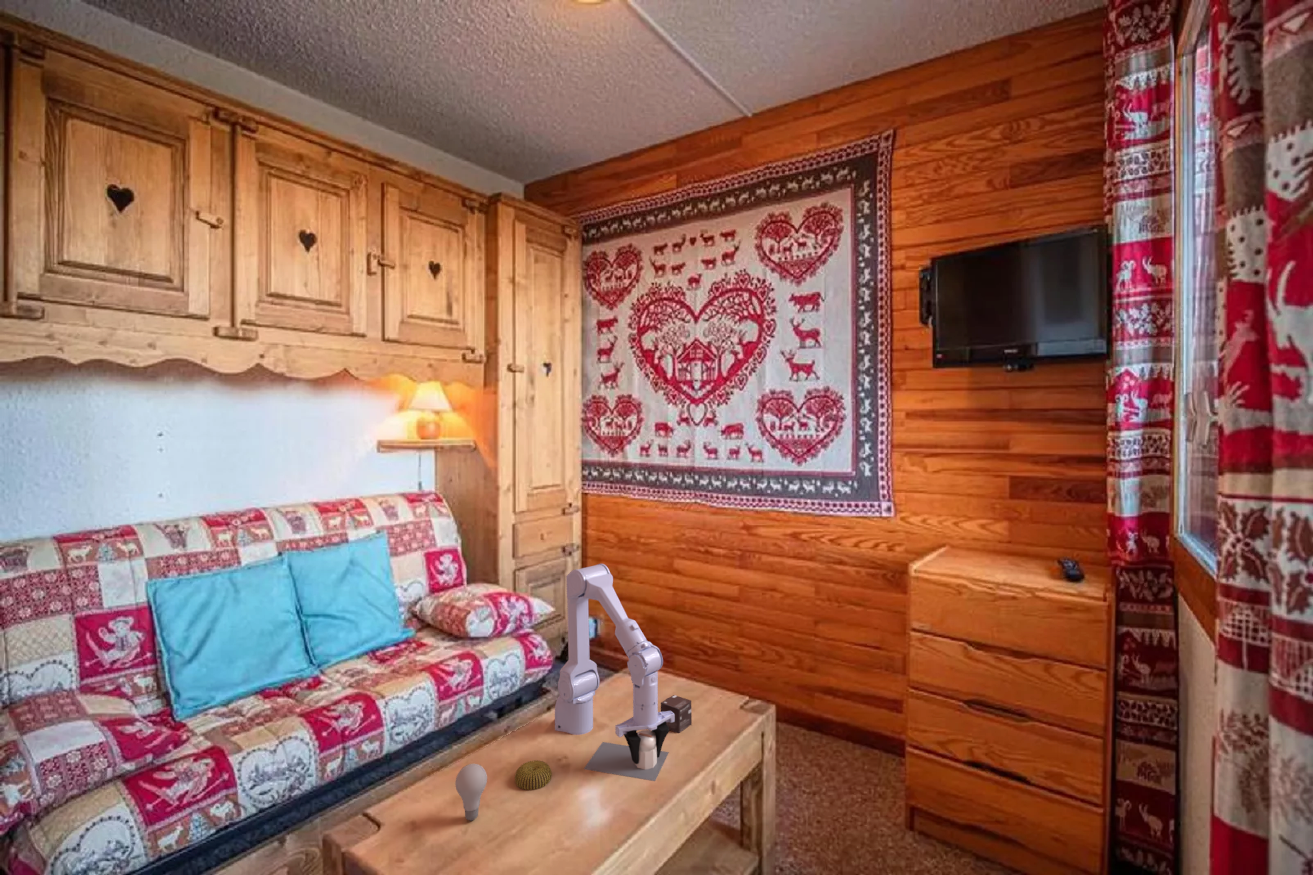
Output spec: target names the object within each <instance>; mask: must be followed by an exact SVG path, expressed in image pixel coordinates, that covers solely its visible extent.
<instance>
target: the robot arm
mask: <svg viewBox="0 0 1313 875" xmlns="http://www.w3.org/2000/svg"><path fill="white" fill-rule="evenodd" d="M565 578H566V598H567V599H566V603H567V606H566V607H567V608H566V609H567V640H568V644H567V645H568V647H567V648H568V649H567V650H568V660H567V661H566V662H565V664H564V665H563V666H562V667H561V668H560V670H559V679H558V683H557V690H558V694H559V695H558V697H557V699H556V701H555V706H554V731H556V732H564V733H567V734H570V735H574V736H575V735H576V736H577V735H578V736H580V735H581V736H582V735H585V734H588V733H590V732H592V730H593V728H594V696H596V691H597V690H598V689H599V688H600V683H601V682H600V676H599V673H598V667H597V666H598V665H597V663H596V662H595V661H593V660H591V659H590V658H591V657H590V625H589V624H590V622H589V621H590V620H589V600H594V601H598V602H599V603H600V605H601V606H602V608H603V609H604V611H605V612H606V614H607V616H608V617H609V618H610V619H611V621H612V623H613V624H614V625H615V631H614V635H615V637H616V638H617V640H618V642H619V644H620V646H621V647H622V649H623V650H624V652H625V654H626V656H627V657H628V661H627V662H626V663H627V669H628V671H629V673H630V679H631V680H630V681H631V683H632V692H633V693H632V705H633V706H632V708H633V710H632V711H633V712H632V714H633V715H632V717H630V718H628V719H626V720H625V721H622V722H621V723H619V724H618V723H617V724H615V726H614V727H615V728H614V730H615V735H616V736H617V737H618V738H621V737H624V738H625V740H626V743H627V746H629V749H630V752H631V757H632V761H633V762H634V763H635V764H638V763H639V745H640V741H641V738H640V737H639V736H638V733H637V731H642V730H649V731H652V732H654V733H655V734H656V746H657V758H658V757H659V756H660V752H661V751H662V747H663V744H664V741H665V739H666V738H667V736H668V734H669V732H670V730H669V726H667V722H671V723H672V722H675V714H674V713H673V712H672V711H665V712H661V711H659V709H658V708H659V707H658V705H659V703H658V702H659V695H658V693H659V692H658V691H659V689H658V688H659V687H658V686H659V684H658V683H659V679H658V678H659V672H658V671H659V670H661V668H662V667H663V665H664V659H663V655H662V652H661V650H660V648H659V647H658V646H656V645H654V644H653V643H652V642H651V641H648V640H647V638H646V636H645V635H644V632H642V630H641V628H640V626H639V624H638V623H637V621H636V620H634V619H632V618H629V617H628V615H627V612H626V611H625V608H624V607H623V605H622V603H621V601H620V599H619V597H618V595H617V593H616V591H615V589H614V586H613V584H614V583H613V582H614V576H613V574H612V573H611V572H610V569H609V568H608V566H607V565H606V564H604V563H598V564H595V565H592V566H587V567H582V568H579V569H578V568H576V569H573V570H571V571H570V572H569V573H568V574H567V575H566V577H565Z"/></svg>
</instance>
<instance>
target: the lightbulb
mask: <svg viewBox="0 0 1313 875" xmlns="http://www.w3.org/2000/svg"><path fill="white" fill-rule="evenodd" d="M487 782H488V775H487V771H486V770H485V769H484V767H483V766H482V765H481V764H478V763H469V764H467V765H465V766H463V767H462V768H461V769H460V771H458V773H457V776H456V778H455V783H454V784H455V789H456V792H457V793H458V794H459V796H460V798H461V800H462V805H463V809H464V817H465V819H466V820H467V821H474V820H475V819H477V818H478V817H479V807H480V805H481V804H480V803H481V796H482V795H483V793H484V791H485V788H486V787H487Z"/></svg>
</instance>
